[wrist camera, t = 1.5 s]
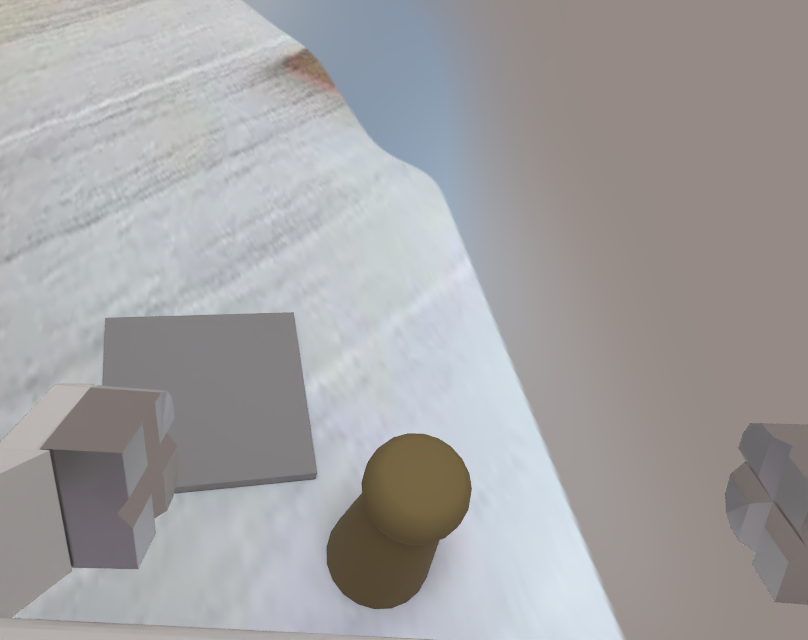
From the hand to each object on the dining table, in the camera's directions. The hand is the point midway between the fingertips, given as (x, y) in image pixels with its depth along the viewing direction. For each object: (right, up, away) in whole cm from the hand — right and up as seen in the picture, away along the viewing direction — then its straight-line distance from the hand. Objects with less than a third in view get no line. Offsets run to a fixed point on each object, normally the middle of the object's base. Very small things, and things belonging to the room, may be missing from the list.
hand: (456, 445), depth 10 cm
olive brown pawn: (-2, -12, +31) cm, 33 cm away
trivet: (-13, -3, +34) cm, 36 cm away
